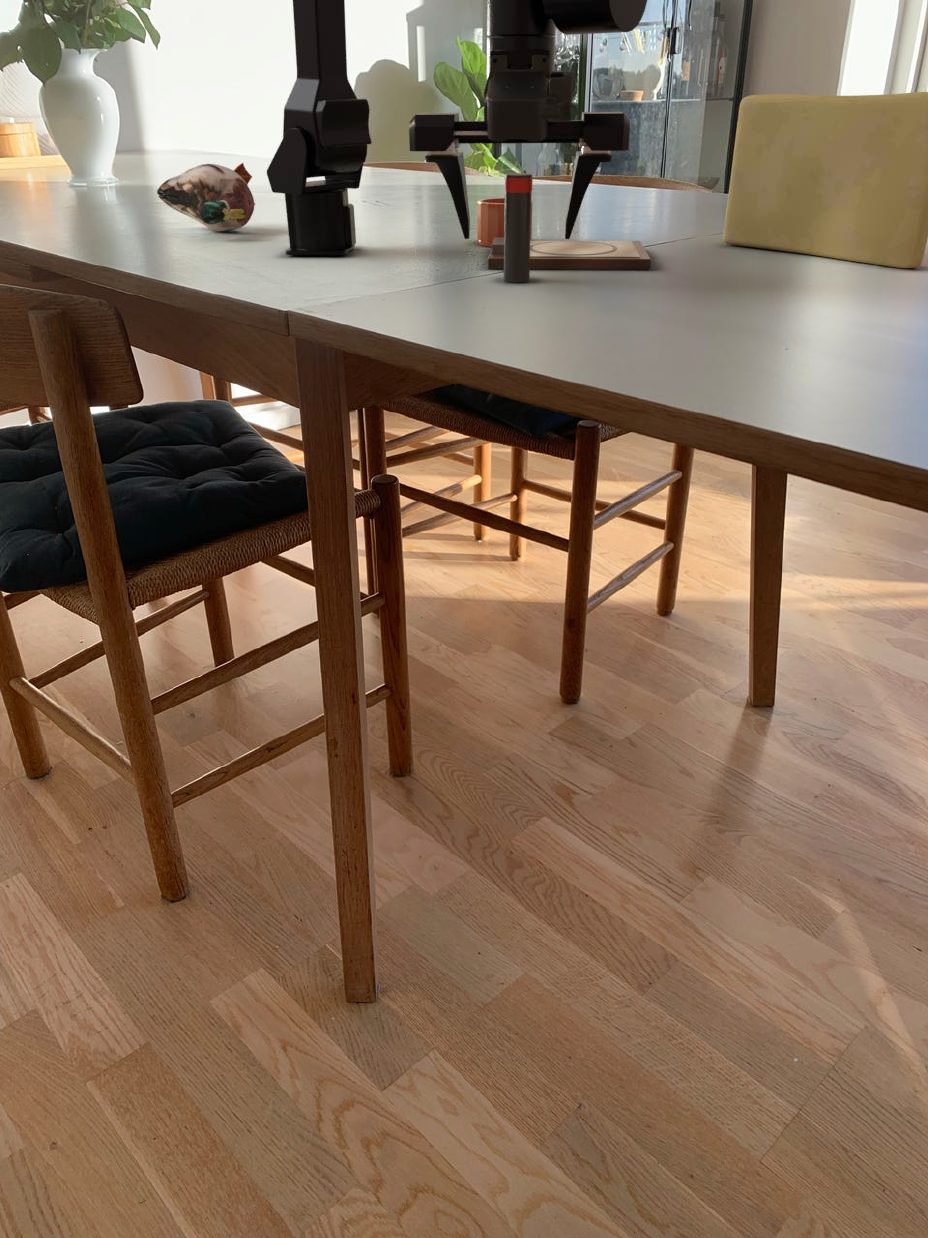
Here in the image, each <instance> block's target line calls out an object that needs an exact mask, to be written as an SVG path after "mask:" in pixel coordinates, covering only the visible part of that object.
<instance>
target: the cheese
mask: <svg viewBox="0 0 928 1238" xmlns="http://www.w3.org/2000/svg"><path fill="white" fill-rule="evenodd" d="M732 155H733V156H732V162H731V163H732V164H731V171H730V179H729V187H728V195H727V201H726V208H725V216H724V225H723V233H722V240H723V243H725V244H727V245H733V246H740V247H749V248H756V249H765V250H772V251H773V250H774V251H780V252H788V253H795V254H802V255H811V256H818V257H825V258H830V259H836V260H837V259H838V260H844V261H851V262H857V263H864V264H869V265H877V266H884V267H891V268H897V269H912V268H918V267H920V266H921V265H922V263H923V261H924V256H925V251H926V247H927V242H928V91H913V92H905V93H904V92H903V93H889V94H865V95H864V94H861V95H829V94H828V95H827V94H825V95H824V94H807V93H806V94H805V93H804V94H803V93H767V94H765V93H763V94H751V95H747V96H745V97H743V98H742V99H741V101H740V103H739V107H738V117H737V124H736V133H735V140H734V148H733V154H732Z"/></svg>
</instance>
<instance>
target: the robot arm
mask: <svg viewBox="0 0 928 1238" xmlns="http://www.w3.org/2000/svg"><path fill="white" fill-rule="evenodd" d="M647 3H648V0H486V82H485V86H484V90H483V120H460V114H459V113H460V112H421V113H417V114H415V115H414V116H413V117H412V118H411V119H410V121H409V126H408V141H409V142H408V143H409V151H410V152H426V155H424V159H425V163H427V164H429V163H430V164H433V163H434V164H436V165H437V167H438V169H439V171H440V173H441V175H442V177H443V179H444V180H445V183H446V186H447V188H448V190H449V192H450V196H451V199H452V201H453V205H454V209H455V211H456V215H457V218H458V222H459V225H460V229H461V231H462V234H463V238H464V239H465V240H469V239H470V235H471V217H470V216H471V215H470V208H469V206H470V205H469V200H468V199H469V197H468V188H467V178H466V168H465V158H464V152H463V151H458V150H459V148H460V147H461V144H462V145H463V144H465V145H466V144H472V145H473V144H578V148H580V150H577V151H576V152H575V157H574V158H575V159H574V163H573V170H572V178H571V183H570V190H569V197H568V202H567V209H566V215H565V225H564V227H565V229H564V239H565V240H570V239H571V236H572V233H573V230H574V227H575V224H576V221H577V219H578V215H579V212H580V210H581V206H582V203H583V201H584V198H585V195H586V192H587V191H588V187H589V186H590V184H591V181H592V180H593V178H594V175H595V174H596V172H597V170H598V168H599V166H600V165H601V164H602V163H611V162H612V161H613V154H612V153H611V152H619V151H621V152H623V151H629V145H630V134H631V120H630V119H629V118H628V116H627V115H626V114H625V113H624V112H622V111H582V112H581V119H579V120H578V119H577V120H575V119H573V120H572V108H573V88H574V87H573V86H574V85H573V84H574V71H573V70H555V61H556V60H555V59H556V56H555V55H556V33H557V31H556V30H558V31H559V33H561V34H564V35H566V36H571V35H574V36H575V35H593V34H594V35H595V34H596V35H597V34H613V33H614V34H615V33H629V32H631V31H634V30H635V29H636V27H638V26H639V24H640V23H641V20H642V18H643V16H644V14H645V12H646V8H647ZM292 12H293V28H294V29H293V30H294V44H295V45H294V46H295V61H296V79H295V81H294V84H293V86H292V89H291V91H290V94H289V96H288V98H287V100H286V102H285V105H284V107H283V123H282V124H283V127H282V128H283V129H282V139H281V142H280V143H279V146H278V148H277V150H276V151H275V153H274V155H273V157H272V159H271V161H270V164H269V165H268V167H267V169H266V176H267V179H268V182H269V186H270V189H271V192H272V193H273V194H274V193H275V194H284V200H285V211H286V221H287V230H288V232H287V233H288V242H289V248H287V249H286V250H285V255H286V256H345V255H347V254H348V253H349V252H350V251H352V250H353V249H354V248H356V247H355V246H356V244H357V236H356V235H357V234H356V221H355V219H356V218H355V206H354V205H353V203H349V192H348V189H353V190H357V189H359V188H360V185H361V180H362V175H363V174H362V173H363V169H364V163H365V162H366V159H367V155H368V145H372V138H371V135H370V126H369V121H370V112H371V111H370V110H371V109H370V103H369V101H368V99H367V98H358V97H357V95H356V93H355V90H354V89H353V87H352V85H351V83H350V81H349V77H348V63H347V60H348V59H347V35H346V34H347V32H346V3H345V0H292ZM321 177H324V179H320V180H311V181H308V179H310V178H321Z"/></svg>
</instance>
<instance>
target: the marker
mask: <svg viewBox="0 0 928 1238" xmlns="http://www.w3.org/2000/svg"><path fill="white" fill-rule="evenodd" d="M533 182H534V181H533V173H528V172H527V173H526V172H513V173H512V172H511V173H505V174H504V184H503V185H504V188H503V190H504V198H505V219H504V269H503V281H504V282H506V283H512V284H521V283H528V282H529V281H530V270H531V269H530V234H531V200H532V193H533Z"/></svg>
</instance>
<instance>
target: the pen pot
mask: <svg viewBox="0 0 928 1238" xmlns="http://www.w3.org/2000/svg"><path fill="white" fill-rule="evenodd" d="M533 202H534V201H533V199H531V234H530V241H532V236H533V235H532V233H533ZM476 213H477V215H476V216H477V228H476V229H477V230H476V231H477V238H476V239H477V244H478V245H479V246H482V247H488V248H489V247H490V248H492V243H493V240H494V238H495V237H504V219H505V197H490V198H481V199H478V200H477V212H476Z"/></svg>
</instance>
